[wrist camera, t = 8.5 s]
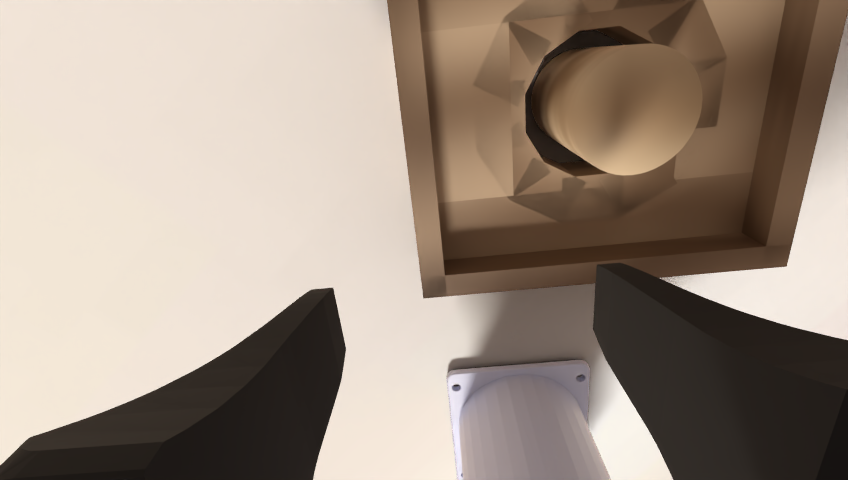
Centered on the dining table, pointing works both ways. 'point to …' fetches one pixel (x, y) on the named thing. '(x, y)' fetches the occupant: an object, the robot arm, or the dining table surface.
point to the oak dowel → (619, 105)
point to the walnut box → (581, 181)
